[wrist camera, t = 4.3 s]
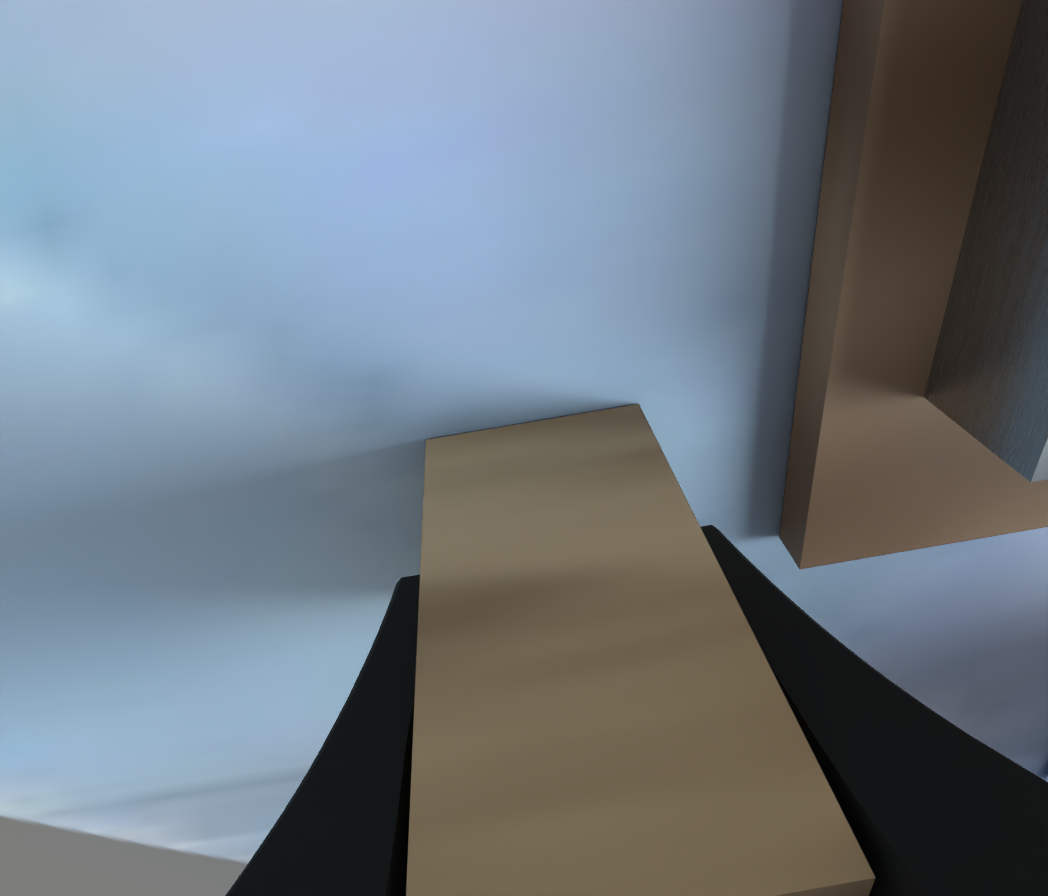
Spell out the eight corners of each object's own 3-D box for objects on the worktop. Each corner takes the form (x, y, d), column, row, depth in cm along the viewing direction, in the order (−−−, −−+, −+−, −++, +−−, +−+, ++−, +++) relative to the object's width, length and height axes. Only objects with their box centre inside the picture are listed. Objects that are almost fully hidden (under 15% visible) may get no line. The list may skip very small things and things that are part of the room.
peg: (644, 559, 14) (817, 1028, 8) (465, 590, 14) (483, 1087, 8) (638, 403, 12) (875, 877, 5) (425, 439, 12) (403, 960, 5)
